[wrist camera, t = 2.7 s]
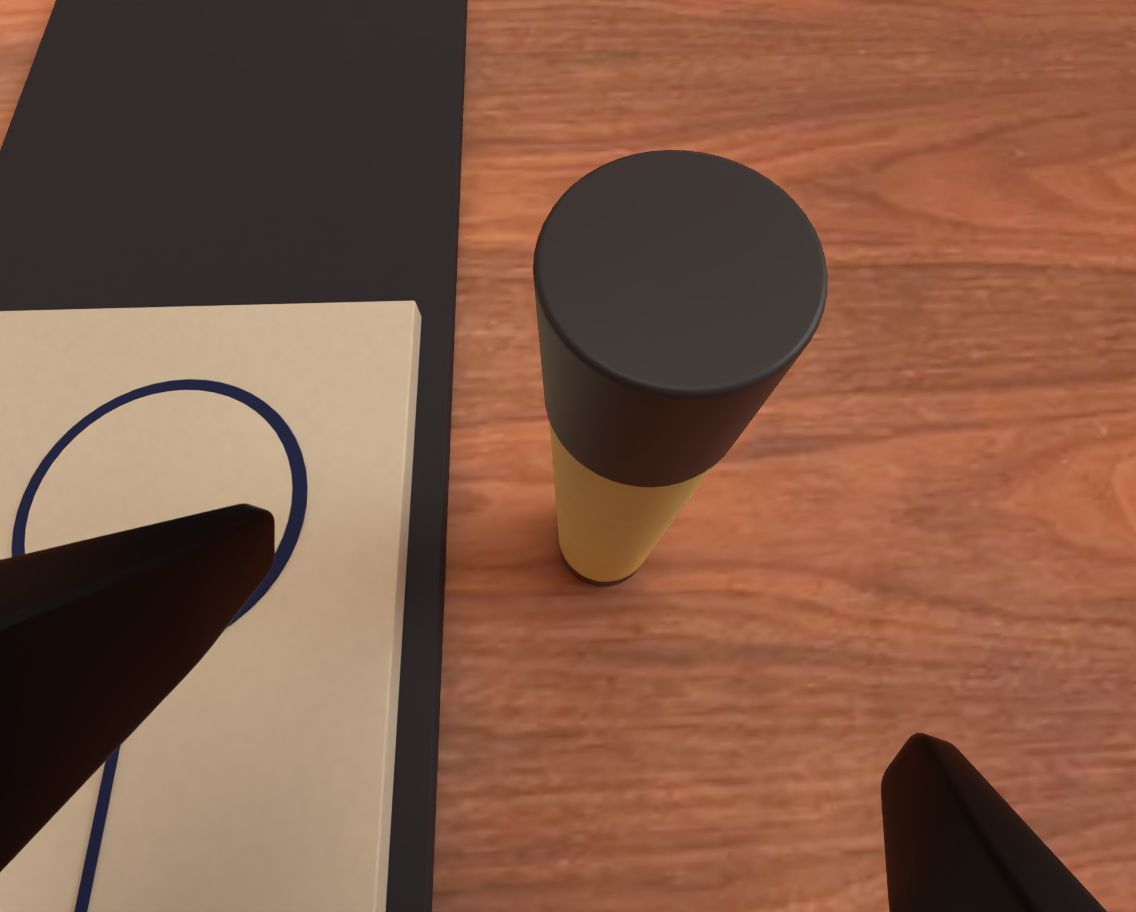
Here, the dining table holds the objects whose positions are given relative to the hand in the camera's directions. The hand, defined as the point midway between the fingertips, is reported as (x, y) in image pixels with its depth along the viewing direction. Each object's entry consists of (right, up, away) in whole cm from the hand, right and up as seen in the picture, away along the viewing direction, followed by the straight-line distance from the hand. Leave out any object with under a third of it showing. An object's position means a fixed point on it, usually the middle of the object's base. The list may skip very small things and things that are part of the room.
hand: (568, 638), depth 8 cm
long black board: (-14, +20, +18) cm, 30 cm away
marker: (+1, 0, +11) cm, 11 cm away
